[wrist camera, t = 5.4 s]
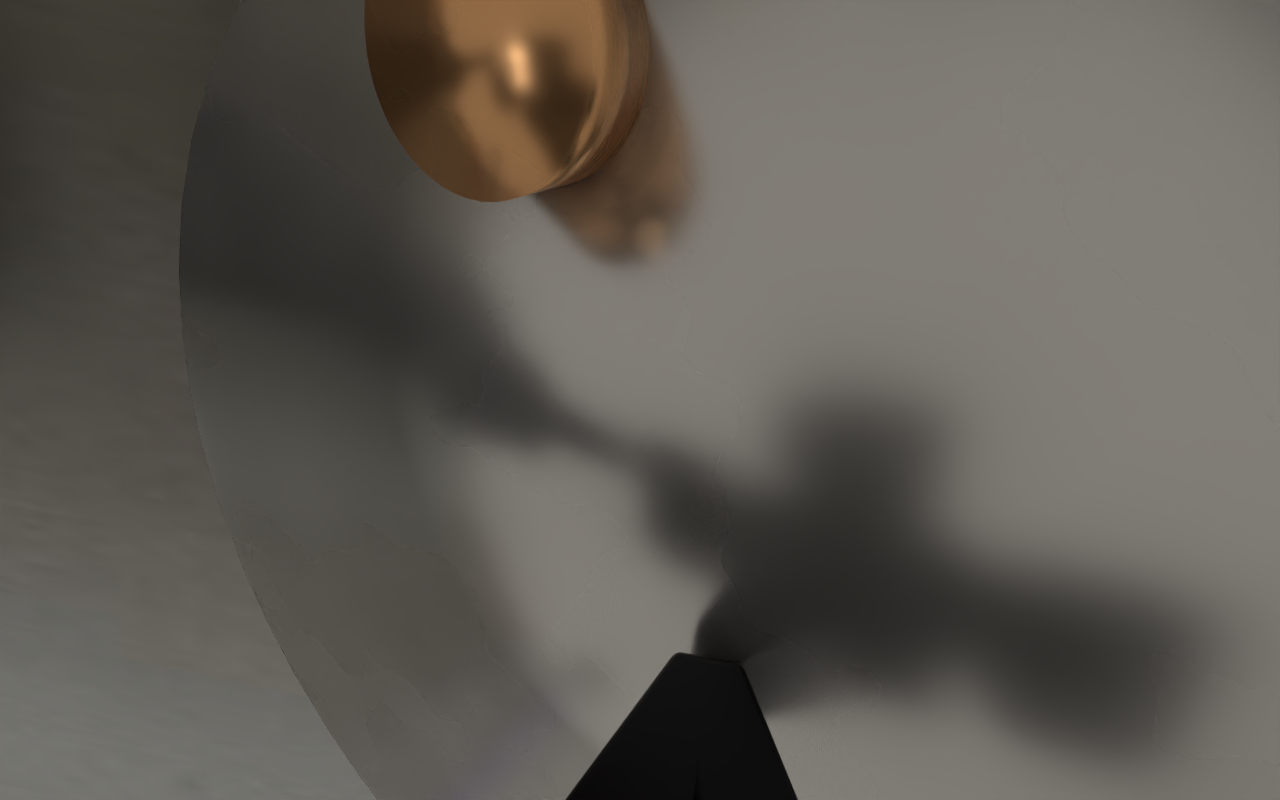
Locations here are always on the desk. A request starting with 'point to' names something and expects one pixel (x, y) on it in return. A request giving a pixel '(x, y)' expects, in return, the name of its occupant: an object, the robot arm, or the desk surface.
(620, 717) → the cooker lid
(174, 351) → the desk surface
